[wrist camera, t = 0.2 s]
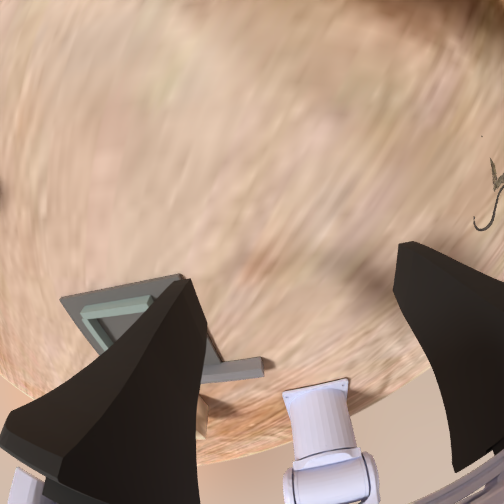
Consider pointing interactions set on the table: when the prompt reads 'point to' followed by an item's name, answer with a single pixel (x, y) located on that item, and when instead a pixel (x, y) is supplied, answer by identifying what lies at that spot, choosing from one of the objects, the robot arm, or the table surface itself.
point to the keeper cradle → (119, 312)
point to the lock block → (201, 419)
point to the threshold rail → (233, 370)
